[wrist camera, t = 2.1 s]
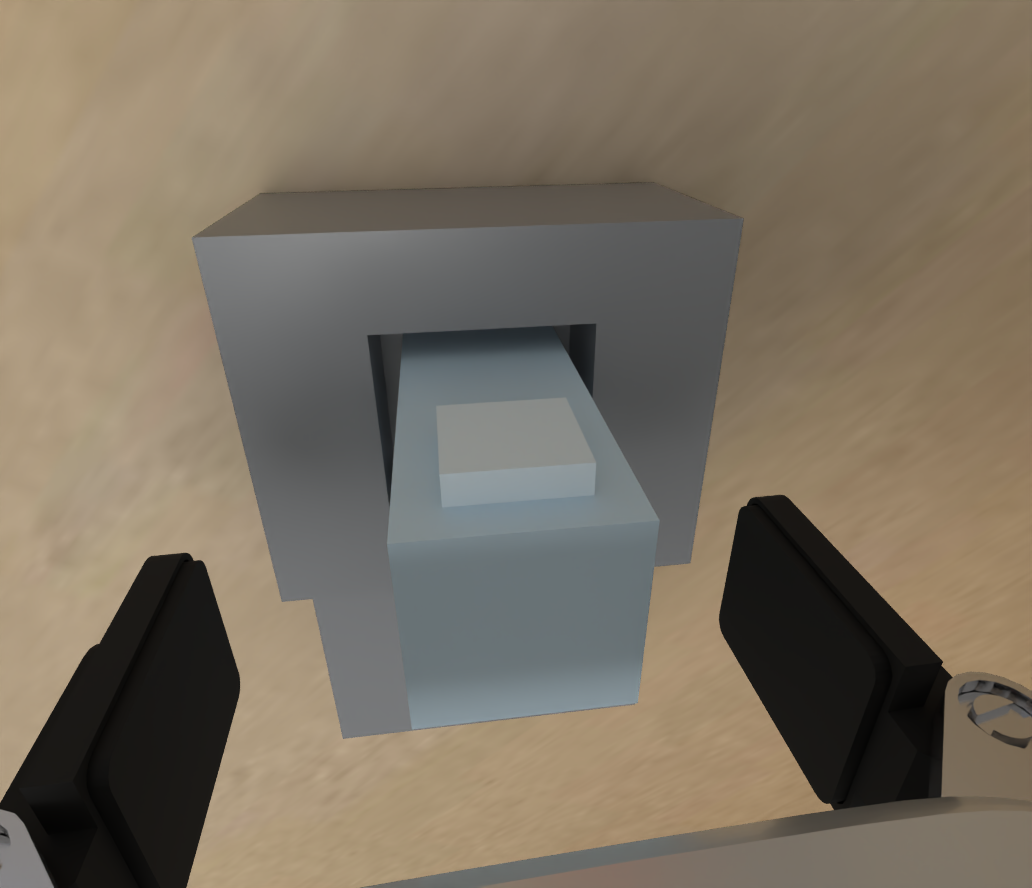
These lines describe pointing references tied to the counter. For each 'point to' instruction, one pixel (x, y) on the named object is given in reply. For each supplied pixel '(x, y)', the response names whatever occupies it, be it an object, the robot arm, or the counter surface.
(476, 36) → the counter surface
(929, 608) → the counter surface
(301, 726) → the counter surface
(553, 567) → the plug
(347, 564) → the socket panel
